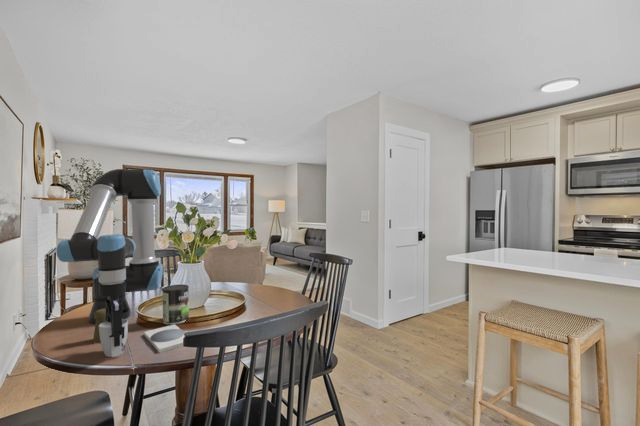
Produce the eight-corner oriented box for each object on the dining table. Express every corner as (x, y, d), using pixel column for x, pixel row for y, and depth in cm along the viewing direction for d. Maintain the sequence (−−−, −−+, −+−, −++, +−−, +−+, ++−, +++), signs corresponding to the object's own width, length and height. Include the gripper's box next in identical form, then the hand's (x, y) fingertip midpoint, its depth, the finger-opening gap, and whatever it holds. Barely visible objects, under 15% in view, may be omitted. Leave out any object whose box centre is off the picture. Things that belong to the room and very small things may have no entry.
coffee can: (194, 316, 139) (193, 284, 139) (179, 325, 129) (178, 290, 129) (173, 315, 141) (172, 283, 141) (157, 324, 131) (156, 289, 131)
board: (144, 335, 120) (144, 331, 120) (174, 327, 127) (174, 323, 127) (159, 352, 105) (159, 348, 105) (193, 343, 112) (193, 338, 112)
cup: (124, 356, 102) (123, 325, 102) (95, 360, 100) (94, 329, 100) (131, 346, 110) (131, 317, 110) (104, 349, 108) (103, 320, 107)
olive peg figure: (91, 344, 112) (90, 313, 112) (94, 338, 117) (93, 308, 117) (112, 340, 115) (111, 310, 115) (114, 334, 120) (113, 305, 120)
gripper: (94, 278, 110) (96, 344, 110) (103, 290, 94) (105, 366, 95) (119, 275, 115) (121, 338, 115) (132, 285, 99) (134, 358, 100)
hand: (114, 351), depth 105 cm, fingers closed on cup, 8 cm apart
